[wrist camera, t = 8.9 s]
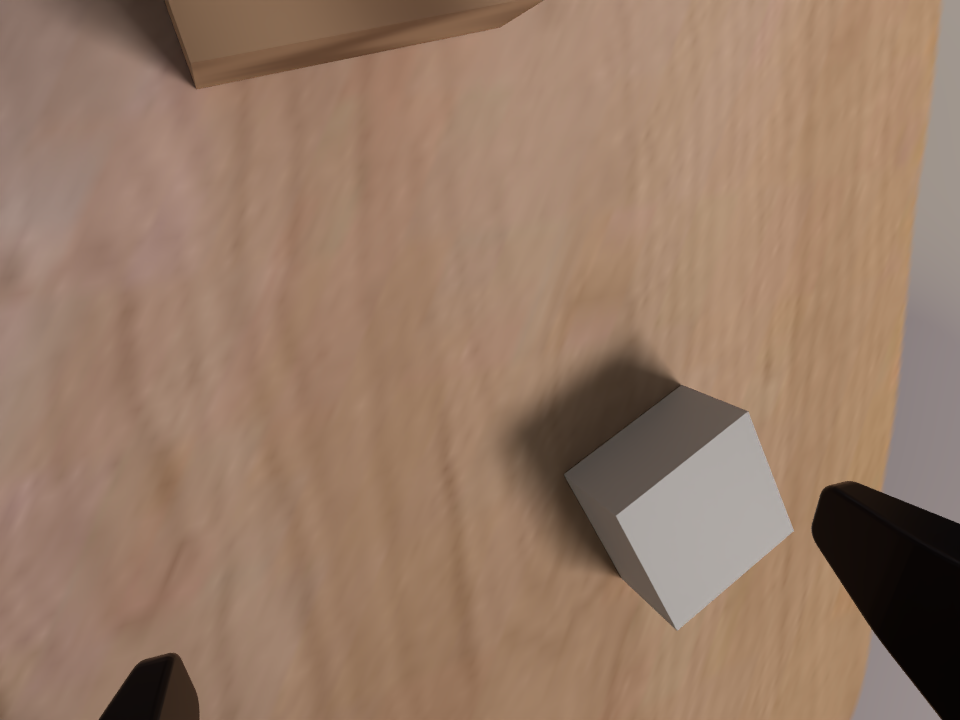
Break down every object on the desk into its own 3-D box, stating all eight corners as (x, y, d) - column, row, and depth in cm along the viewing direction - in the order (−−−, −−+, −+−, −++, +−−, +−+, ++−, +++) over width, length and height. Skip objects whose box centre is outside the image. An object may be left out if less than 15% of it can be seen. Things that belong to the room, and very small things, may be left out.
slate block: (622, 579, 26) (677, 630, 23) (563, 474, 24) (615, 515, 21) (727, 492, 27) (793, 530, 24) (681, 384, 25) (747, 411, 22)
